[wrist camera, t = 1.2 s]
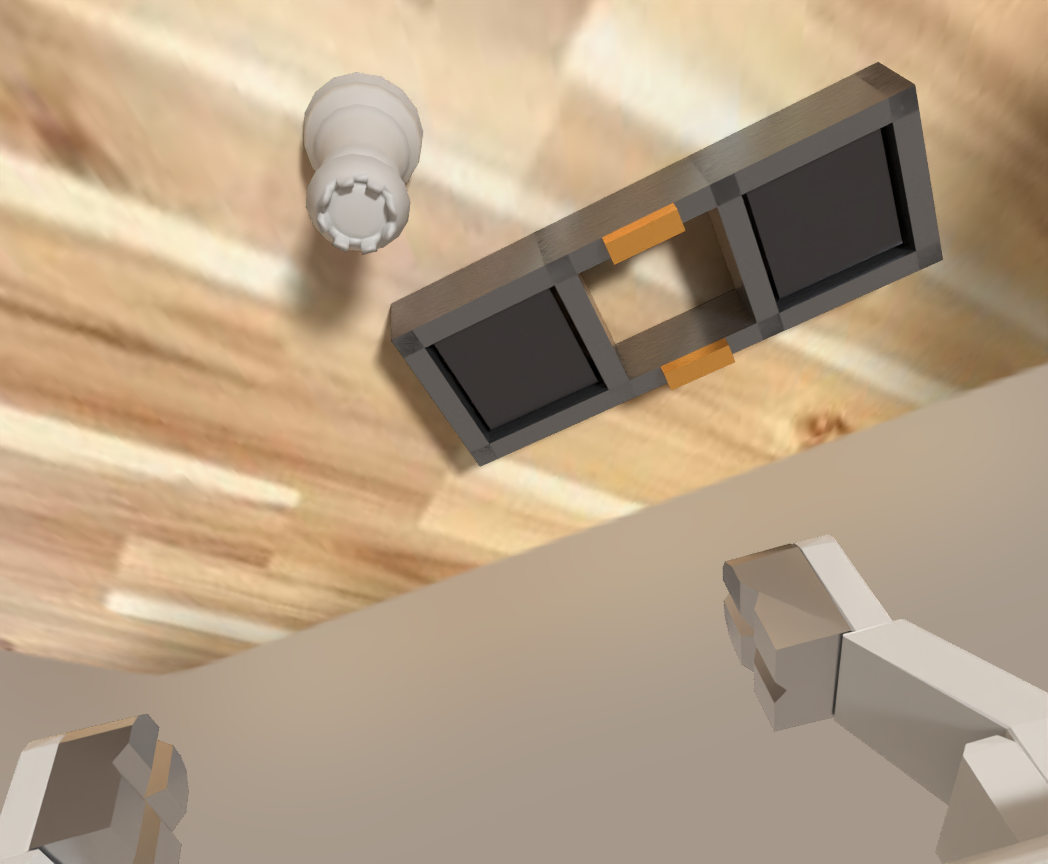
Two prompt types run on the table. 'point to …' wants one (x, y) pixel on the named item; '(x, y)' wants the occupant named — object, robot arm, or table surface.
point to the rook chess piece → (360, 160)
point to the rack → (656, 215)
